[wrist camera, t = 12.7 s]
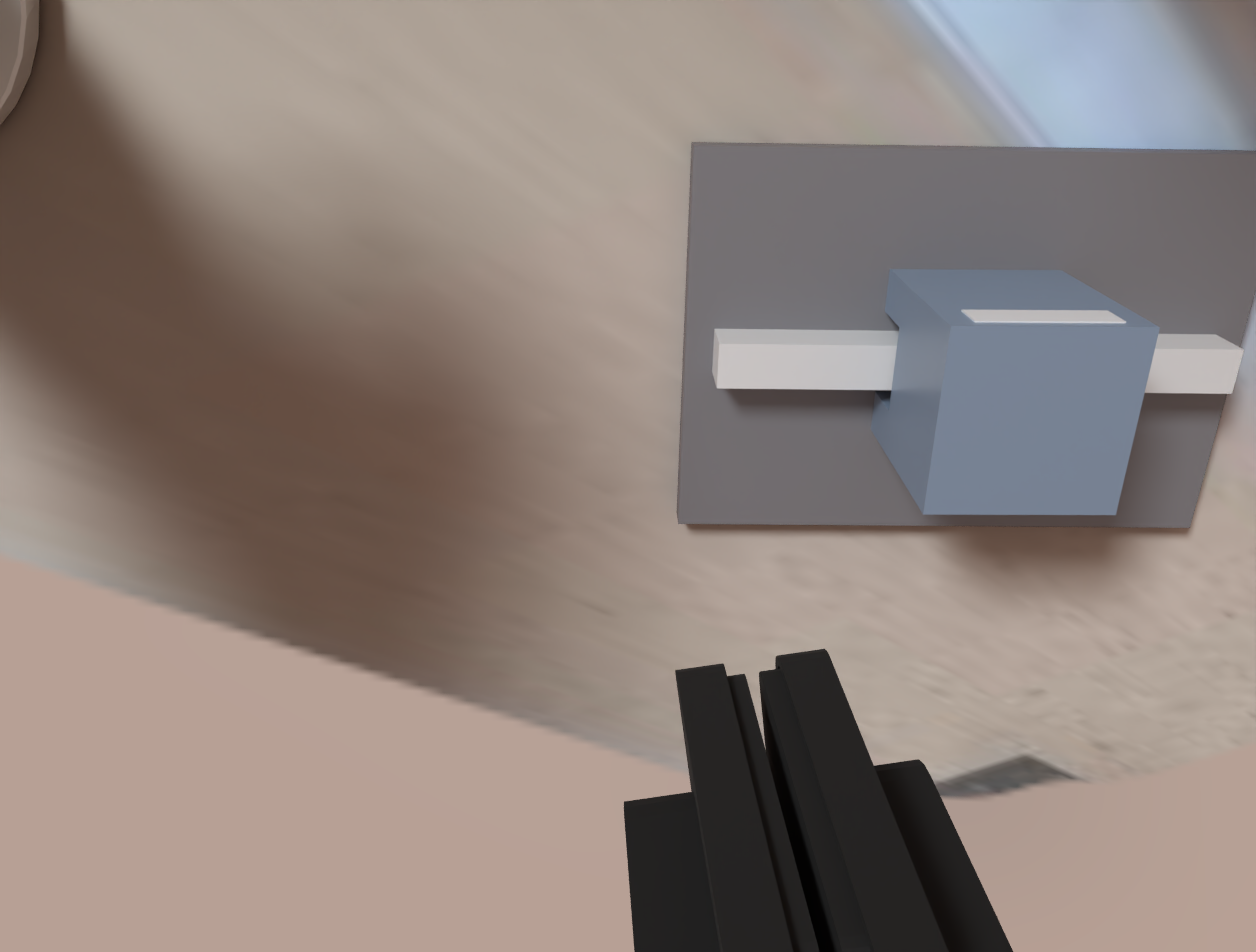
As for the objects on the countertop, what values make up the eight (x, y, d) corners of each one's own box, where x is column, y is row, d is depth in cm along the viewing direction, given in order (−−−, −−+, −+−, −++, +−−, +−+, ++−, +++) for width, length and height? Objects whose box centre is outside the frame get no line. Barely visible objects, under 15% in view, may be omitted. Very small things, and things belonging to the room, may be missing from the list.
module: (870, 430, 38) (922, 515, 31) (889, 267, 35) (951, 324, 29) (1031, 431, 38) (1115, 516, 31) (1061, 268, 35) (1160, 325, 29)
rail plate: (676, 512, 40) (681, 546, 38) (691, 142, 34) (697, 152, 32) (1176, 516, 41) (1214, 550, 38) (1275, 150, 35) (1327, 162, 32)
